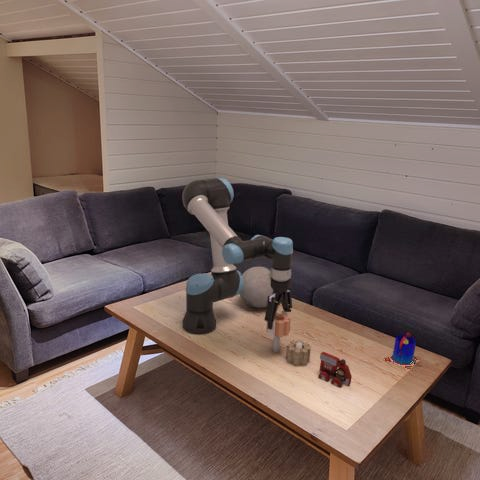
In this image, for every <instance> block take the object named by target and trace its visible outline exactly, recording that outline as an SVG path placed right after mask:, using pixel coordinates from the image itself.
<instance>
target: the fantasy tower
mask: <svg viewBox="0 0 480 480" xmlns="http://www.w3.org/2000/svg"><path fill="white" fill-rule="evenodd" d="M416 344H417V341H416V339H415V338H414V337H413V336H412V334H411V333H409V332H407V333H406V334H398V335H397V336H395V340H394V347H393V350H394V351H393V350H392V354H393V355H392V354H391V355H392V356H391V355H390V356H391V357H390V356H387V357H384V358H383V360H384V359H385V360H384V361H385V362H386V361H389V362H391V363H392V361H391V360H390V358H391V359H392V360H393V362H395V363H397V364H400V365H411V364H412V363H413V362H414V361H415V360H414V359H413V358H415V359H416V360H418V358H419V357H415V355H414V354H415V351H416ZM389 357H390V358H389ZM412 361H413V362H412ZM389 362H388V363H389ZM411 362H412V363H411ZM410 363H411V364H410ZM405 368H407V369H411V366H405Z"/></svg>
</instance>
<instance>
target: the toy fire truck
mask: <svg viewBox="0 0 480 480" xmlns="http://www.w3.org/2000/svg"><path fill="white" fill-rule="evenodd" d="M319 358H320V364H319V374H318V376H317V378H318V379H320V380H322V381H324V382H327V383H328V382H330V384H331V385H333V386H334V387H337V388H338V389H339V388H340V389H341V388H342V387H343V385H344V386H347V387H348V386H350V385H351V383H352V373H351V370H350V367H349V365H348V364H347V362H346V359H343V358H342V359H340V358H339V357H338V356H335V355H333V354H330V353H328V352H327V351H326V352H325V351H322V352H321V353H320V355H319Z"/></svg>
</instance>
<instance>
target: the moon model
mask: <svg viewBox="0 0 480 480" xmlns="http://www.w3.org/2000/svg"><path fill="white" fill-rule="evenodd" d="M241 276H242V277H243V289H242V291H241V292H240V294H239V297H240V298H241V300H242V301H243V303H245V304H247V305H248V306H249V307H252V308H257V309H258V308H260V309H261V308H265V307H266V308H267V302H268V296H272V293H273V289H272V288H271V278H272V277H271V269H269V268H267V267H265V266H253V267H250V268H248V269H247V270H245V271H244V272H243V273H241Z"/></svg>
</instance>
